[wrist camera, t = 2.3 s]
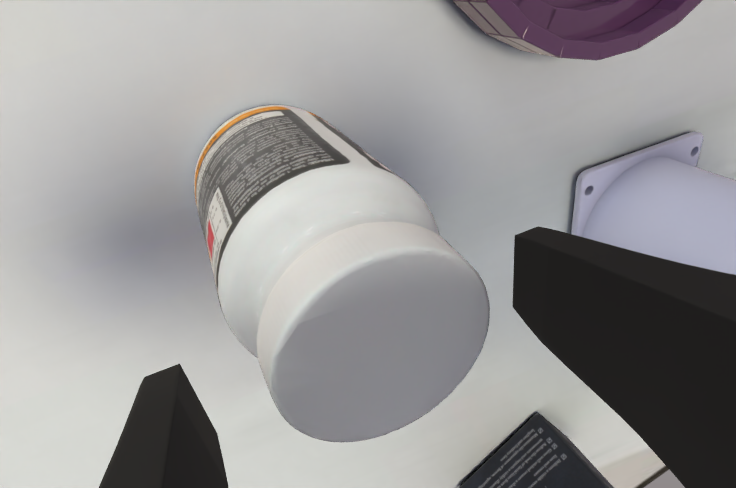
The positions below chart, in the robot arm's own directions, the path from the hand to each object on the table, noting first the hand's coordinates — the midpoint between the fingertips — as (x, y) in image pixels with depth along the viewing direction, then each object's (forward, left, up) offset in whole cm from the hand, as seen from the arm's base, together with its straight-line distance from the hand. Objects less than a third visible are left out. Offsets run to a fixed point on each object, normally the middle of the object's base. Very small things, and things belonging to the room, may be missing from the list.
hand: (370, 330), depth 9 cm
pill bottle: (0, 0, -9) cm, 9 cm away
